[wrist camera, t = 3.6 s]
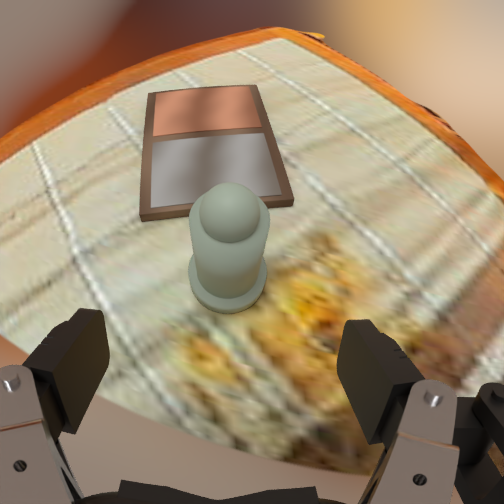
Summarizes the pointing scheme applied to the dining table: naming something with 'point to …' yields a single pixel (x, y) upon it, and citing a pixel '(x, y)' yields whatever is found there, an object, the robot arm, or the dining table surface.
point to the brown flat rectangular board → (208, 149)
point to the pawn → (228, 248)
